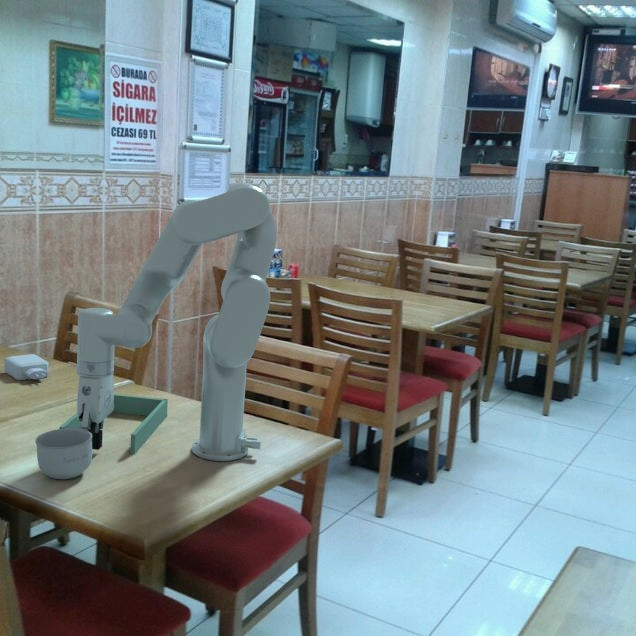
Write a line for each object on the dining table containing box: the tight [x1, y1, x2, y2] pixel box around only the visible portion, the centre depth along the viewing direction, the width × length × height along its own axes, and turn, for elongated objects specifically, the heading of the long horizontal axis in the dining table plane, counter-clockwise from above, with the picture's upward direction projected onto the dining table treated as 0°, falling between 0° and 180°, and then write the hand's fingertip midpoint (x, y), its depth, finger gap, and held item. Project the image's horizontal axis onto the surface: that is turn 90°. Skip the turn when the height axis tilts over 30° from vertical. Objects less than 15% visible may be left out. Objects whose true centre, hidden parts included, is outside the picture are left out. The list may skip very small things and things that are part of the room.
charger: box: [4, 353, 50, 381], centre depth 211 cm, size 5×9×15 cm
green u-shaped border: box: [58, 393, 169, 455], centre depth 176 cm, size 17×26×4 cm, turn 175°
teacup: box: [34, 426, 93, 480], centre depth 152 cm, size 14×11×8 cm
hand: (93, 447), depth 163 cm, fingers closed
